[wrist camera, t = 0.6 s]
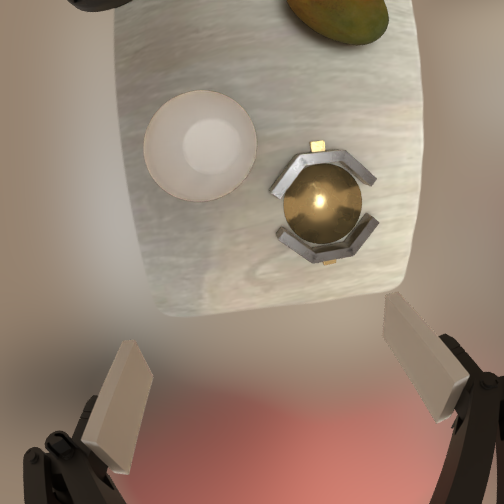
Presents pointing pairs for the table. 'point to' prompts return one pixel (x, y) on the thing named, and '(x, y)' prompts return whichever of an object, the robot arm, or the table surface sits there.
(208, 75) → the table surface
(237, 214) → the table surface
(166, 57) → the table surface
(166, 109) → the cup
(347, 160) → the socket
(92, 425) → the robot arm
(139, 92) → the table surface
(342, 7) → the fruit
